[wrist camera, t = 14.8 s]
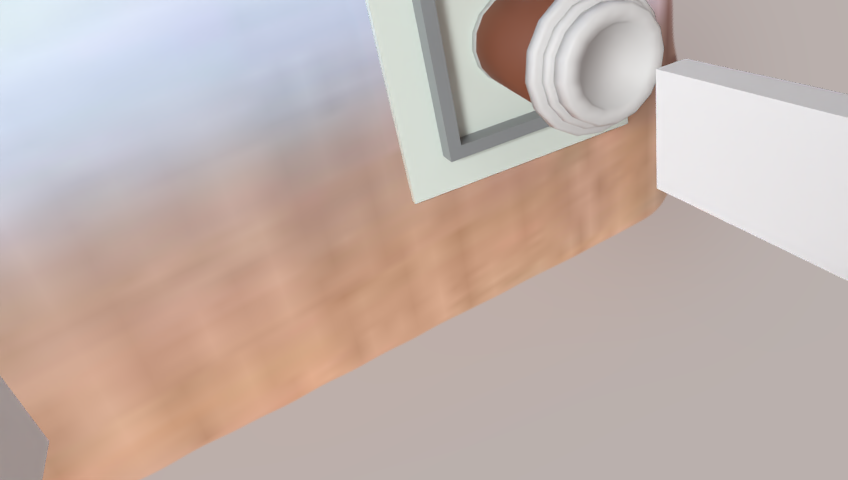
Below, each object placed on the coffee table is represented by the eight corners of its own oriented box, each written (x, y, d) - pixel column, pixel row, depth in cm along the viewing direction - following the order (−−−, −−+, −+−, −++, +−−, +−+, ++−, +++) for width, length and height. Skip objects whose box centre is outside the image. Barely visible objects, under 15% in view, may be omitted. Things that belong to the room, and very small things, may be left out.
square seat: (345, -81, 38) (355, -82, 36) (613, -147, 43) (633, -151, 41) (412, 201, 48) (423, 211, 46) (623, 121, 53) (639, 128, 51)
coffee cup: (547, 104, 49) (652, 147, 39) (444, 95, 45) (531, 140, 35) (576, -20, 45) (700, -6, 35) (467, -41, 41) (571, -34, 32)
